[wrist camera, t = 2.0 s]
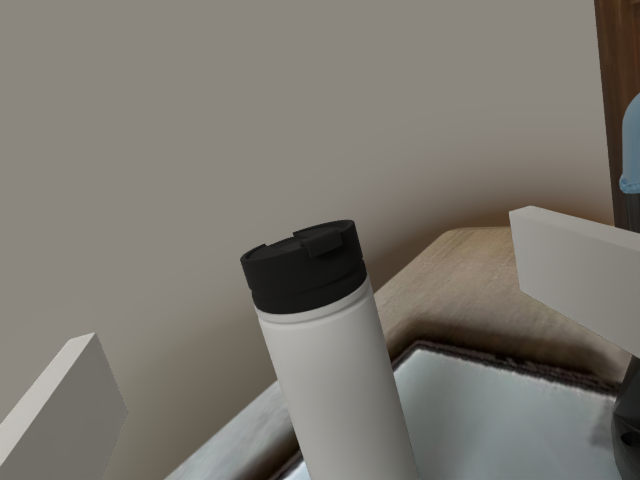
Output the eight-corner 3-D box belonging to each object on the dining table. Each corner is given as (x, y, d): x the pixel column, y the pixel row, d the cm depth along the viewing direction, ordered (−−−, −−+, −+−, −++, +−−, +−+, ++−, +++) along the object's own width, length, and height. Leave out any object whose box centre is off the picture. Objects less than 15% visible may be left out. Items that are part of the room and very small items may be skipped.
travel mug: (368, 604, 26) (261, 262, 20) (314, 522, 31) (220, 240, 26) (456, 536, 28) (381, 213, 22) (390, 472, 34) (319, 204, 28)
